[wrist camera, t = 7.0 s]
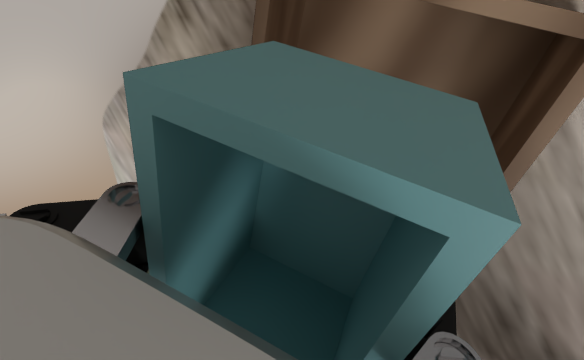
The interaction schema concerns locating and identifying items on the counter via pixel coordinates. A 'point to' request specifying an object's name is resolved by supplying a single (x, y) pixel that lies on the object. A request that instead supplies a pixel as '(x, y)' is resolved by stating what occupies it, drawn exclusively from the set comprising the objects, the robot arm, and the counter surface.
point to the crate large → (454, 56)
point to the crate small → (314, 197)
